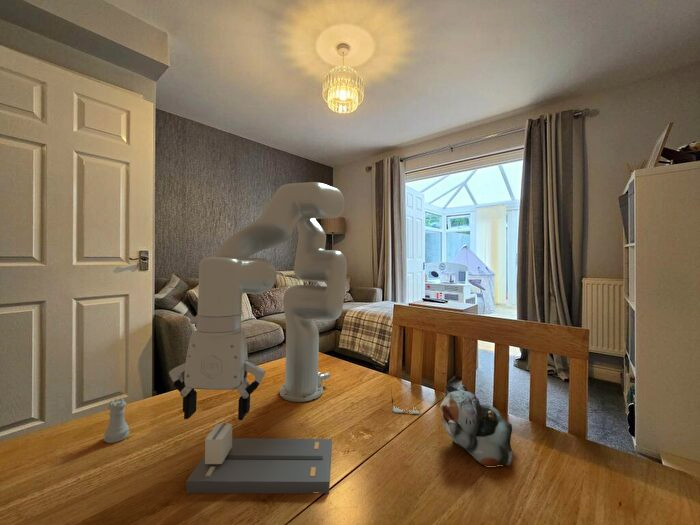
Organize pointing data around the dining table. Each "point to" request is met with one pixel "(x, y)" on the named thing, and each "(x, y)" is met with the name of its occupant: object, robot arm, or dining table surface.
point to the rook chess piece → (116, 422)
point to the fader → (218, 444)
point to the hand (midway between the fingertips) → (216, 416)
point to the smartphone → (404, 410)
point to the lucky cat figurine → (476, 427)
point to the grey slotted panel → (267, 468)
